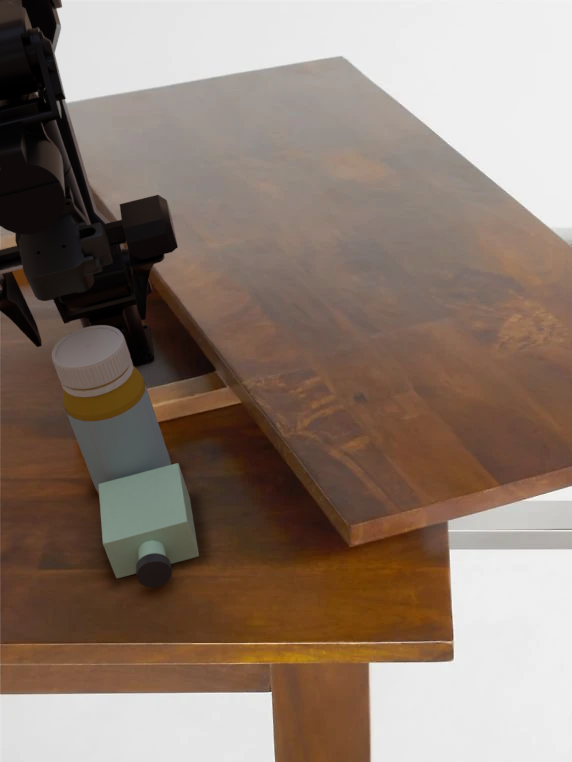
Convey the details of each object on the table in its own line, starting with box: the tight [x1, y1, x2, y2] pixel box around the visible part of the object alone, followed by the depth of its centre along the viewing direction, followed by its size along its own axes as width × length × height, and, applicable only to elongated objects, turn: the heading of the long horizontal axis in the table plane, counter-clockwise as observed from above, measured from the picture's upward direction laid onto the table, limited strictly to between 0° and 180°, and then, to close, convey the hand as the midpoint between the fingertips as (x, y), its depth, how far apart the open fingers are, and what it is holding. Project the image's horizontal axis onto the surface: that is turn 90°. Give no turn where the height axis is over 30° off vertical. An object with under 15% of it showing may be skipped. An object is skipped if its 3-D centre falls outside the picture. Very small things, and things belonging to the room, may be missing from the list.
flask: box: [98, 462, 200, 588], centre depth 115 cm, size 11×7×4 cm, turn 13°
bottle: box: [51, 325, 172, 495], centre depth 120 cm, size 7×7×15 cm
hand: (91, 331), depth 121 cm, fingers open, 9 cm apart
